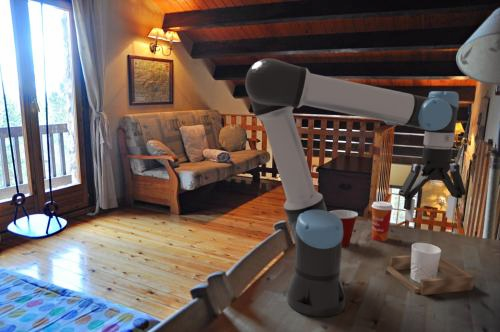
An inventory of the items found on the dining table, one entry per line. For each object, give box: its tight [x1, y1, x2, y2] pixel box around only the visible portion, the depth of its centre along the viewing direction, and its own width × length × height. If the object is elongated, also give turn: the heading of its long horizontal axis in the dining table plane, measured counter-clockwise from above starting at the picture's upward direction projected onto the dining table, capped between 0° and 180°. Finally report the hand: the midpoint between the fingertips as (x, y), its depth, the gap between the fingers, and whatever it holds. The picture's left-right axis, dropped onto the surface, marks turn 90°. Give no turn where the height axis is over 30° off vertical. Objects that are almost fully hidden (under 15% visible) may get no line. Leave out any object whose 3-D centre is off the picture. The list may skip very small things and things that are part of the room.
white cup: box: [410, 242, 442, 284], centre depth 112 cm, size 8×8×10 cm
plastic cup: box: [329, 209, 359, 247], centre depth 138 cm, size 11×11×12 cm
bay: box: [386, 254, 475, 296], centre depth 113 cm, size 18×16×4 cm
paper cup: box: [371, 200, 394, 242], centre depth 143 cm, size 8×8×14 cm
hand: (429, 219), depth 110 cm, fingers open, 13 cm apart
